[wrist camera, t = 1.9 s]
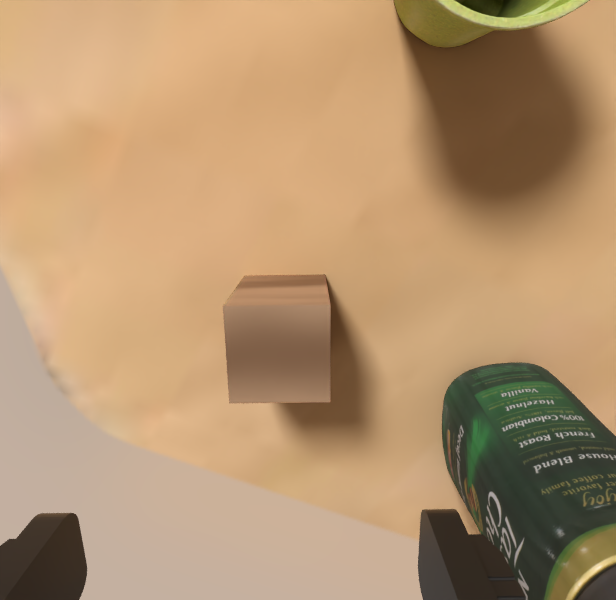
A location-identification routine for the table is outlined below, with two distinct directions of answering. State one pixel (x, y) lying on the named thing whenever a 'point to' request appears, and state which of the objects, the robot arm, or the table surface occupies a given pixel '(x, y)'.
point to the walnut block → (278, 339)
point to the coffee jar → (535, 478)
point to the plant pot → (476, 17)
